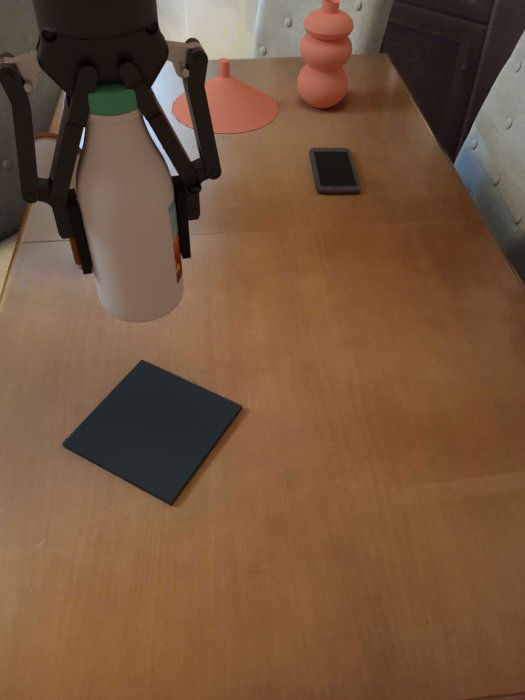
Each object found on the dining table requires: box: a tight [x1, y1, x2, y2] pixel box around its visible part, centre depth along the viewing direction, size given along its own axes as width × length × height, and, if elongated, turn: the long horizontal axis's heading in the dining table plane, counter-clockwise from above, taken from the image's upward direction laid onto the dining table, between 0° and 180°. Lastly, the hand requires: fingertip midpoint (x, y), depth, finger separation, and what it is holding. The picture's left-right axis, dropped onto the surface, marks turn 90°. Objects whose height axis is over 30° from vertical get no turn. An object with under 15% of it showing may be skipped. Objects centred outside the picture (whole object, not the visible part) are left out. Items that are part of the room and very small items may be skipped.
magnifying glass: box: [34, 132, 82, 269], centre depth 77 cm, size 9×2×20 cm, turn 85°
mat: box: [61, 359, 243, 507], centre depth 66 cm, size 14×14×1 cm
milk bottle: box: [76, 83, 185, 324], centre depth 48 cm, size 8×8×20 cm
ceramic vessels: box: [171, 0, 355, 135], centre depth 112 cm, size 35×21×19 cm, turn 100°
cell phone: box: [308, 147, 362, 194], centre depth 103 cm, size 7×14×1 cm, turn 3°
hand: (136, 256), depth 52 cm, fingers closed on milk bottle, 8 cm apart
